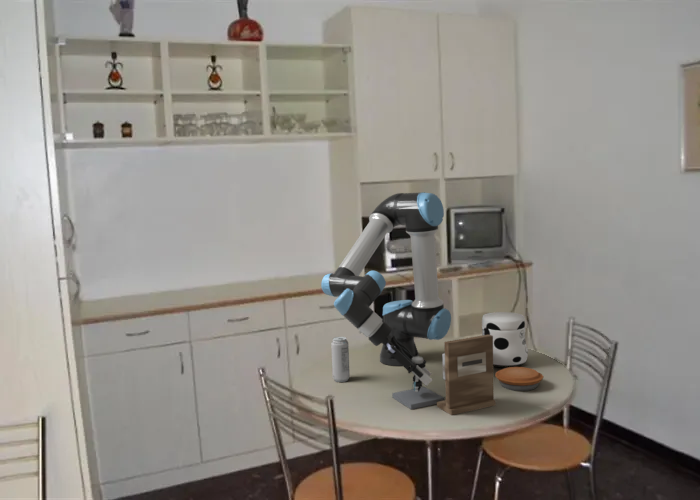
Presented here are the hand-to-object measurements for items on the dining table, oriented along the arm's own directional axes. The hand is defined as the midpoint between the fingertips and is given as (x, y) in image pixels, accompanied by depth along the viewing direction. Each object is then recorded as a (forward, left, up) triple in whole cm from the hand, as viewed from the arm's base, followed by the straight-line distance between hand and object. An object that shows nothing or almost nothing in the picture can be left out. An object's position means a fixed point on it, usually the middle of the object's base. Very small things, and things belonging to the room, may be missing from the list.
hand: (428, 379), depth 198 cm
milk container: (-19, +44, -7) cm, 48 cm away
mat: (-2, -3, -7) cm, 8 cm away
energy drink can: (-33, -16, -7) cm, 37 cm away
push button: (-2, -3, -3) cm, 5 cm away
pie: (+3, +33, -7) cm, 34 cm away
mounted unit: (+10, +7, -7) cm, 14 cm away
